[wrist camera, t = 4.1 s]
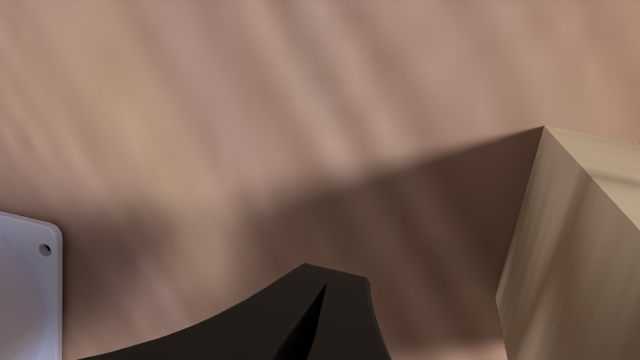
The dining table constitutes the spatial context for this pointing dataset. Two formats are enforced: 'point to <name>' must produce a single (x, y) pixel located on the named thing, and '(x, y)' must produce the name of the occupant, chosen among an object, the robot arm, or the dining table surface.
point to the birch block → (575, 253)
